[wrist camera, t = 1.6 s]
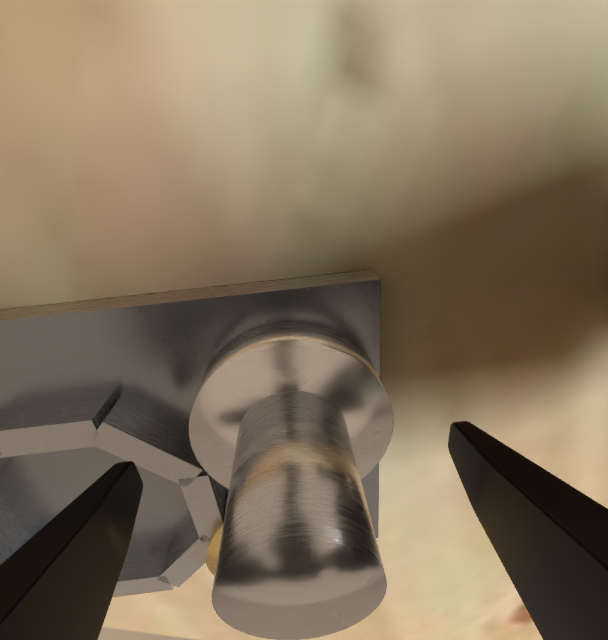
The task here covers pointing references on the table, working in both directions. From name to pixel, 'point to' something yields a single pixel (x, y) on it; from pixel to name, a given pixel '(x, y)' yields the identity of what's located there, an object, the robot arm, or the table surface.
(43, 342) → the plate
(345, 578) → the silver metal knob
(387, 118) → the table surface
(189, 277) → the table surface
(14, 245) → the table surface
